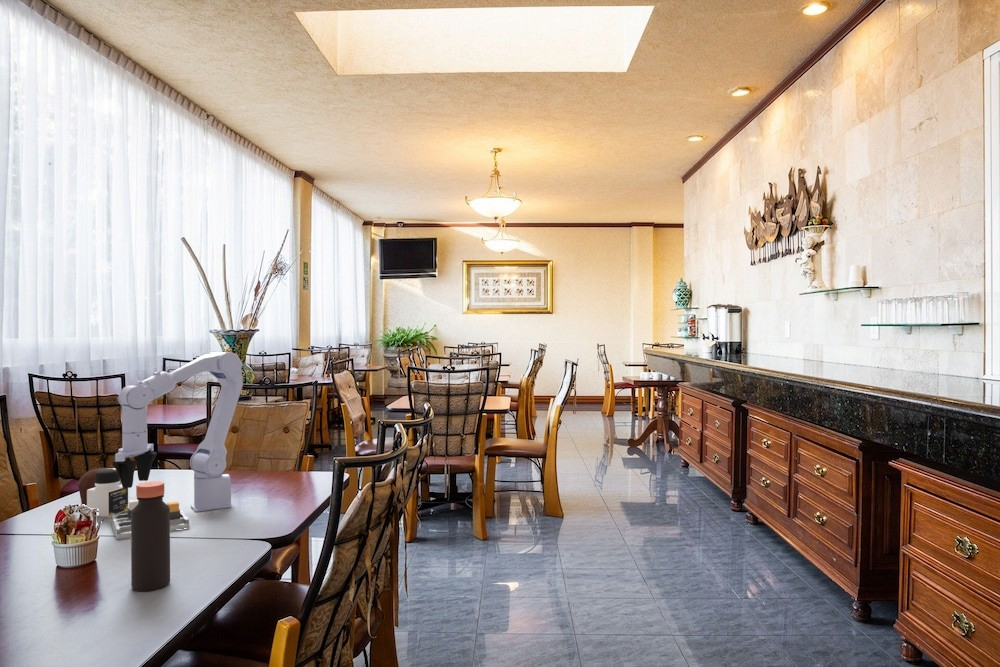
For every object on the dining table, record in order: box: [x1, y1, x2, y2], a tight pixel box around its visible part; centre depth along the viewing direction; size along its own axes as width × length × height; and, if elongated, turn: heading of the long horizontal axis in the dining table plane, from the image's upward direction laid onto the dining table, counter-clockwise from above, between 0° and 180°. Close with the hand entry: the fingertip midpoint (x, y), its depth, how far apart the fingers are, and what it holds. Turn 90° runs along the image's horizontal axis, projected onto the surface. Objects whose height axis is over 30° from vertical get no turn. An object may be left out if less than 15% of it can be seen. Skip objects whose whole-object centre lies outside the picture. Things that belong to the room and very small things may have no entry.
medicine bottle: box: [87, 467, 129, 518], centre depth 186 cm, size 7×7×12 cm
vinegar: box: [130, 480, 171, 592], centre depth 134 cm, size 7×7×20 cm
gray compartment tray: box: [110, 506, 190, 540], centre depth 175 cm, size 16×18×2 cm
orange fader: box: [166, 501, 181, 519], centre depth 174 cm, size 3×3×4 cm
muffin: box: [76, 467, 122, 505], centre depth 196 cm, size 12×11×10 cm
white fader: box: [126, 499, 138, 518], centre depth 176 cm, size 3×3×4 cm
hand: (135, 483), depth 177 cm, fingers open, 7 cm apart
